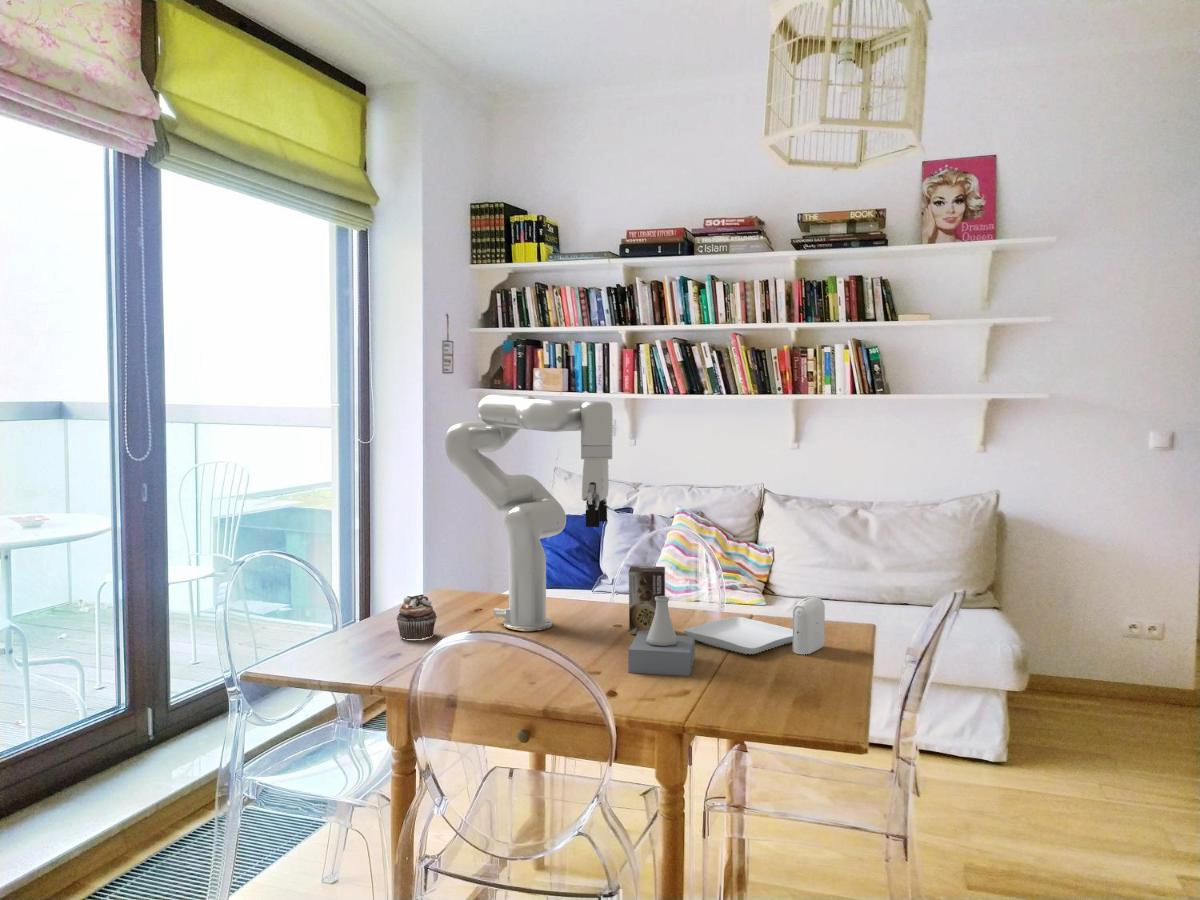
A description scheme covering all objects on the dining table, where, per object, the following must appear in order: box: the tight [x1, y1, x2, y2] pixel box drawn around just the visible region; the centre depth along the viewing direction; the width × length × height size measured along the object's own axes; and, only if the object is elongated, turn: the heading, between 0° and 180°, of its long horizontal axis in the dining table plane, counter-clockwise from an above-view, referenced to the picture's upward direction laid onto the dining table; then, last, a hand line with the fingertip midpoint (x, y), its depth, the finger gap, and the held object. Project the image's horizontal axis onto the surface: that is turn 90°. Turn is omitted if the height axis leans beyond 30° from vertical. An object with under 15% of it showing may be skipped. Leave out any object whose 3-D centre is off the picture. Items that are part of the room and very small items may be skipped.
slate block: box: [627, 634, 696, 677], centre depth 194 cm, size 13×13×5 cm
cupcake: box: [396, 594, 437, 639], centre depth 217 cm, size 10×10×10 cm
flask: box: [646, 595, 678, 646], centre depth 194 cm, size 7×7×10 cm
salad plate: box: [682, 616, 793, 656], centre depth 213 cm, size 21×21×3 cm
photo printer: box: [792, 596, 826, 656], centre depth 206 cm, size 10×4×12 cm, turn 141°
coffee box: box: [628, 565, 666, 635], centre depth 222 cm, size 9×6×16 cm
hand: (596, 524), depth 213 cm, fingers open, 9 cm apart
